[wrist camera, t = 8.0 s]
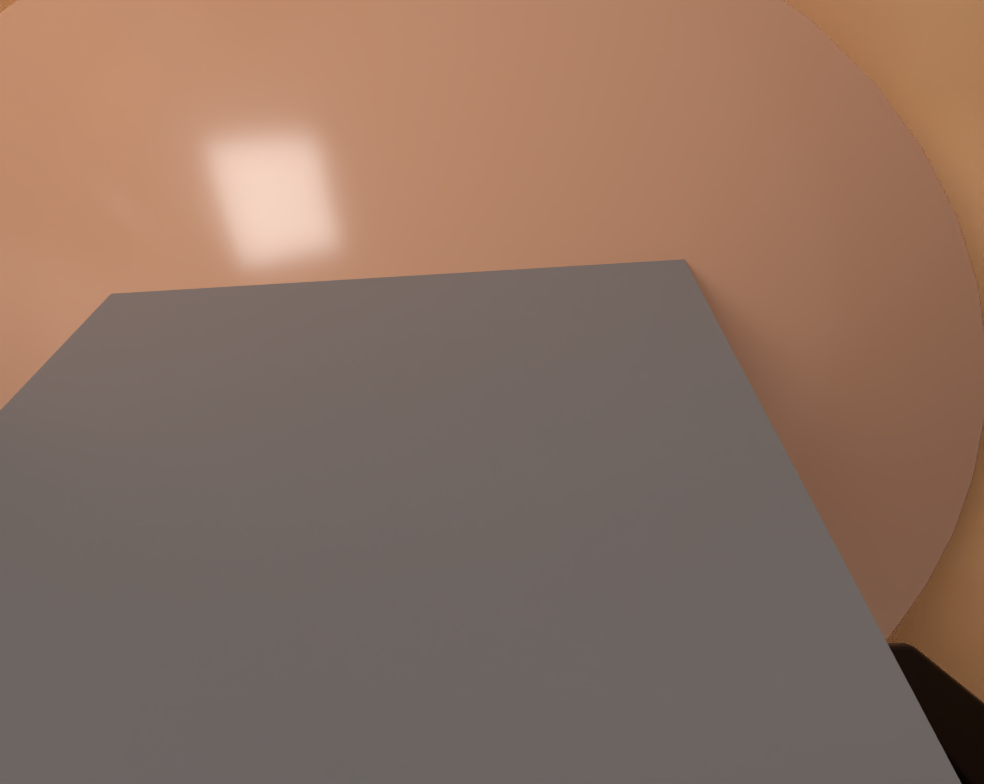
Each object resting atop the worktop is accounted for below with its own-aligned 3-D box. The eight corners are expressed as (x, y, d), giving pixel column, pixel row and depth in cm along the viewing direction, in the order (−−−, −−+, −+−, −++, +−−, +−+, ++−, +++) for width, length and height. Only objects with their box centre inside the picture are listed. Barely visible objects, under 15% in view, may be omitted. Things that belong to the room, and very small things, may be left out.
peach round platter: (854, 752, 15) (880, 814, 14) (91, 783, 16) (64, 845, 15) (1072, -173, 8) (1153, -182, 7) (-310, -75, 9) (-418, -70, 8)
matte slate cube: (662, 666, 13) (819, 1379, 7) (233, 686, 13) (4, 1395, 7) (683, 259, 9) (1035, 922, 3) (111, 293, 10) (-541, 979, 4)
